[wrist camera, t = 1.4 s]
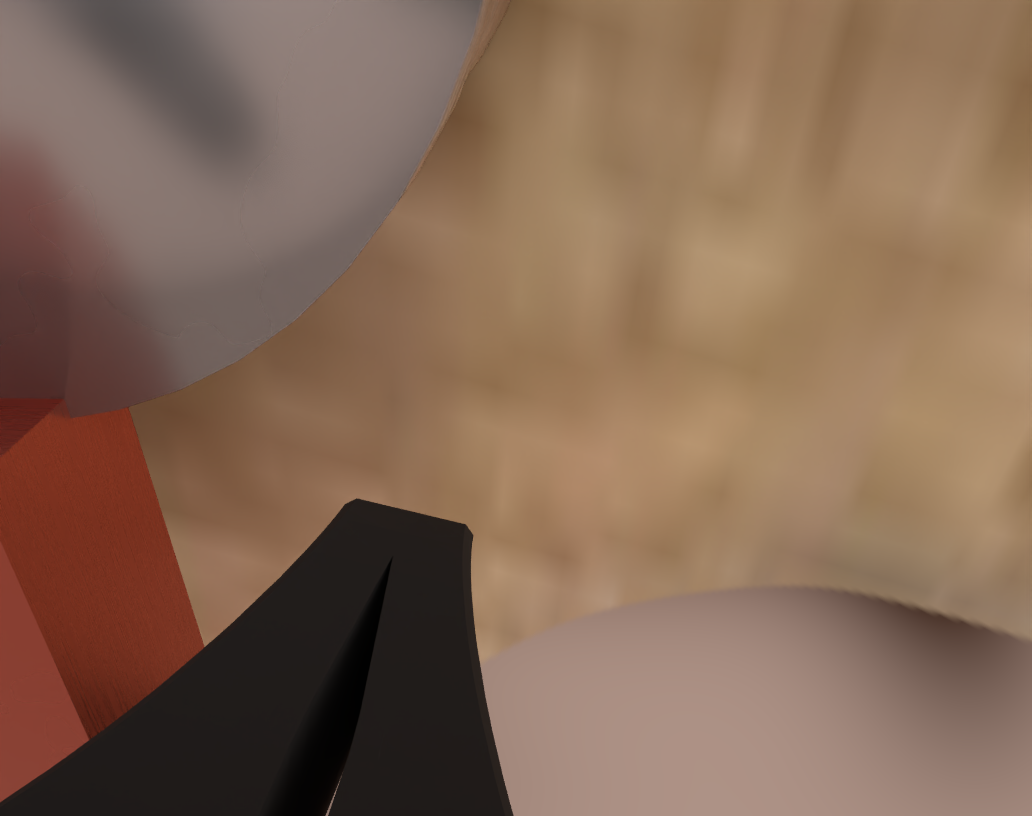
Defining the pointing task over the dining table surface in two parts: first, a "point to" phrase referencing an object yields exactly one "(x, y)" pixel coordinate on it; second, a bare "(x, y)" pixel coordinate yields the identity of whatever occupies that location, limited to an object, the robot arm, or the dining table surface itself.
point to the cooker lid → (167, 285)
